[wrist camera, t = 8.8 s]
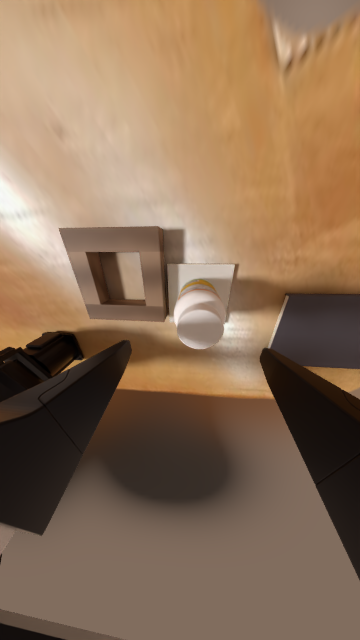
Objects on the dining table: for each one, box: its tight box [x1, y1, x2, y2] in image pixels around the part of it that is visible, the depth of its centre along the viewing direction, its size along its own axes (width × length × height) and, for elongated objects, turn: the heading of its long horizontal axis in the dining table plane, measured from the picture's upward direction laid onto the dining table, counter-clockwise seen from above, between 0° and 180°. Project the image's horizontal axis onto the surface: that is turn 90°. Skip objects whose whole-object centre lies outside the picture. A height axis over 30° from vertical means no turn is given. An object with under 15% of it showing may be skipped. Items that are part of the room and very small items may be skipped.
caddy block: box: [59, 226, 167, 322], centre depth 19 cm, size 12×12×2 cm
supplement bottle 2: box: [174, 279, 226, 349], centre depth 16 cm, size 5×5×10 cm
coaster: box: [167, 264, 235, 324], centre depth 20 cm, size 9×9×1 cm
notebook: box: [268, 294, 360, 369], centre depth 21 cm, size 13×2×21 cm
